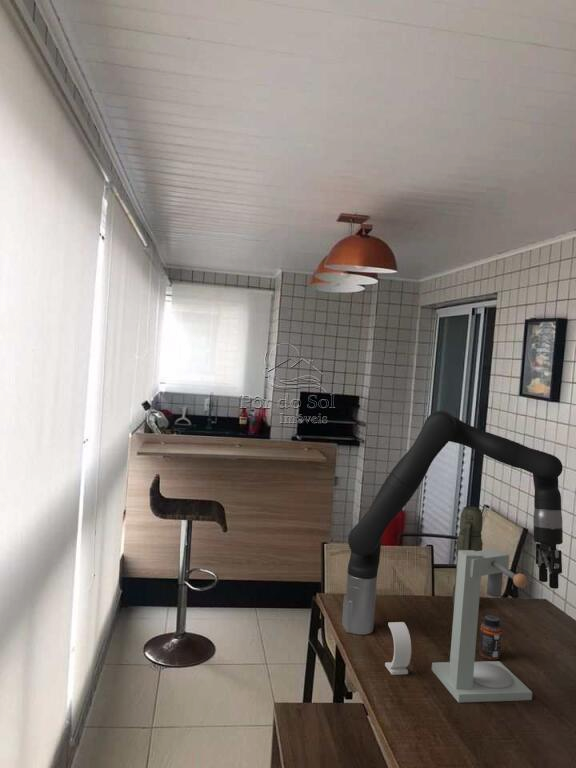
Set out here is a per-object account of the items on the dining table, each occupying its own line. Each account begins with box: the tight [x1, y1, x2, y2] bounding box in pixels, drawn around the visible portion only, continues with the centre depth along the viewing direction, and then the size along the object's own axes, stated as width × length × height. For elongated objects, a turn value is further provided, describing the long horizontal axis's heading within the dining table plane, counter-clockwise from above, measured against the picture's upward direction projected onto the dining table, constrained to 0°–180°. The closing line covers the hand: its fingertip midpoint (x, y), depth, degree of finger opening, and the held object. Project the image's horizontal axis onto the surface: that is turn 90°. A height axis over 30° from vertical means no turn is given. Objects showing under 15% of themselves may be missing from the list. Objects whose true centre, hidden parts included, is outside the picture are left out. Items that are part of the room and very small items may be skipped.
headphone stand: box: [384, 621, 412, 676], centre depth 162 cm, size 5×6×12 cm
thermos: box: [451, 505, 484, 606], centre depth 212 cm, size 9×12×35 cm
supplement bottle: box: [478, 615, 503, 661], centre depth 174 cm, size 6×6×11 cm
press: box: [431, 548, 533, 704], centre depth 152 cm, size 20×26×36 cm
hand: (548, 584), depth 166 cm, fingers open, 8 cm apart
